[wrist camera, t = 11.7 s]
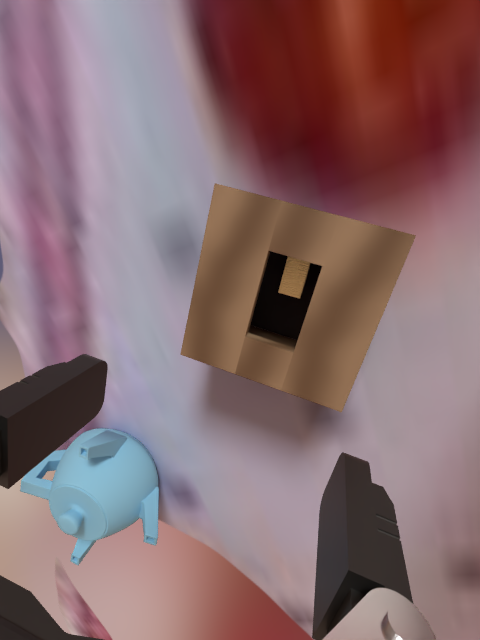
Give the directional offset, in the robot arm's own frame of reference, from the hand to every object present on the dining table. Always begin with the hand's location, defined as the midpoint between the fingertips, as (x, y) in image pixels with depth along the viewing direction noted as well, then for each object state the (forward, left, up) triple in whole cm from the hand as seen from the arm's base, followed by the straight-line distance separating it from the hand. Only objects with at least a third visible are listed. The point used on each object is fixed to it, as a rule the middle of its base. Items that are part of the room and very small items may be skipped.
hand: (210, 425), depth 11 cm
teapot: (+16, +33, -26) cm, 45 cm away
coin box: (0, 0, -26) cm, 26 cm away
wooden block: (0, -4, -23) cm, 24 cm away
